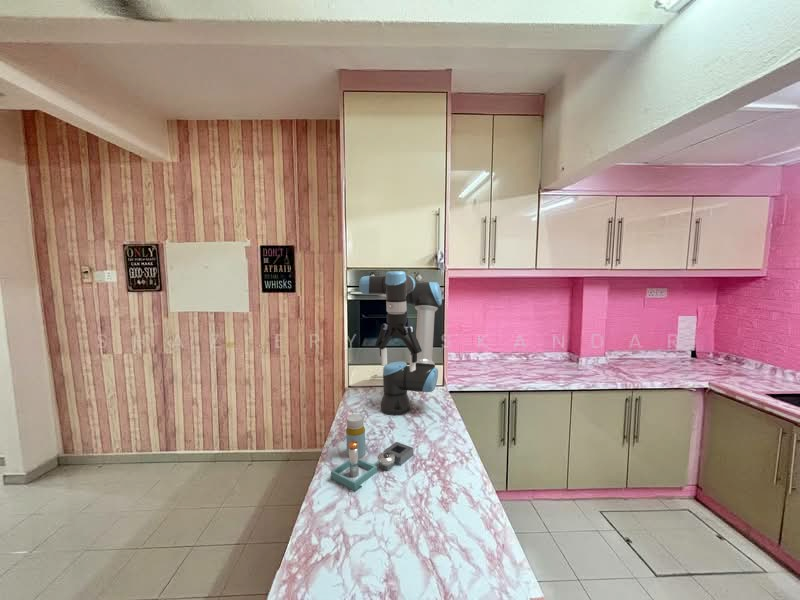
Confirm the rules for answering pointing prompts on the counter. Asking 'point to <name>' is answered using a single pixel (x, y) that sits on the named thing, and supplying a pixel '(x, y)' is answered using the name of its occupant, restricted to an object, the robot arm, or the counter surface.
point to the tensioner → (394, 455)
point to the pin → (353, 458)
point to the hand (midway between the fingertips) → (398, 367)
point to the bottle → (356, 433)
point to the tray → (348, 482)
